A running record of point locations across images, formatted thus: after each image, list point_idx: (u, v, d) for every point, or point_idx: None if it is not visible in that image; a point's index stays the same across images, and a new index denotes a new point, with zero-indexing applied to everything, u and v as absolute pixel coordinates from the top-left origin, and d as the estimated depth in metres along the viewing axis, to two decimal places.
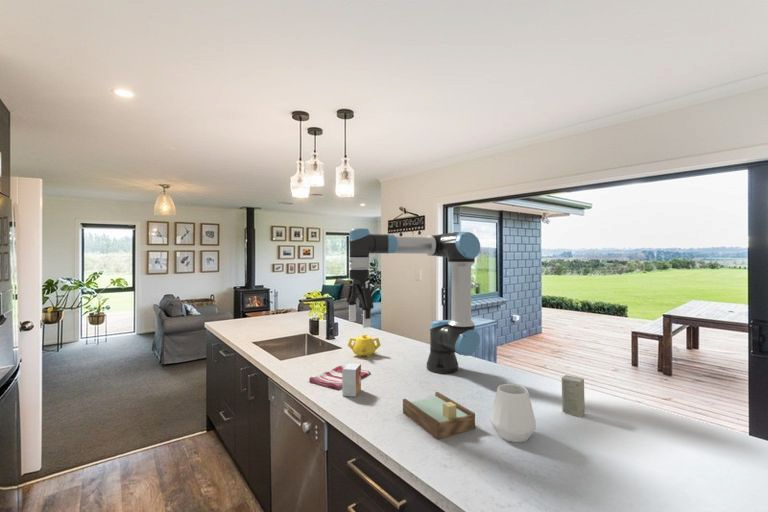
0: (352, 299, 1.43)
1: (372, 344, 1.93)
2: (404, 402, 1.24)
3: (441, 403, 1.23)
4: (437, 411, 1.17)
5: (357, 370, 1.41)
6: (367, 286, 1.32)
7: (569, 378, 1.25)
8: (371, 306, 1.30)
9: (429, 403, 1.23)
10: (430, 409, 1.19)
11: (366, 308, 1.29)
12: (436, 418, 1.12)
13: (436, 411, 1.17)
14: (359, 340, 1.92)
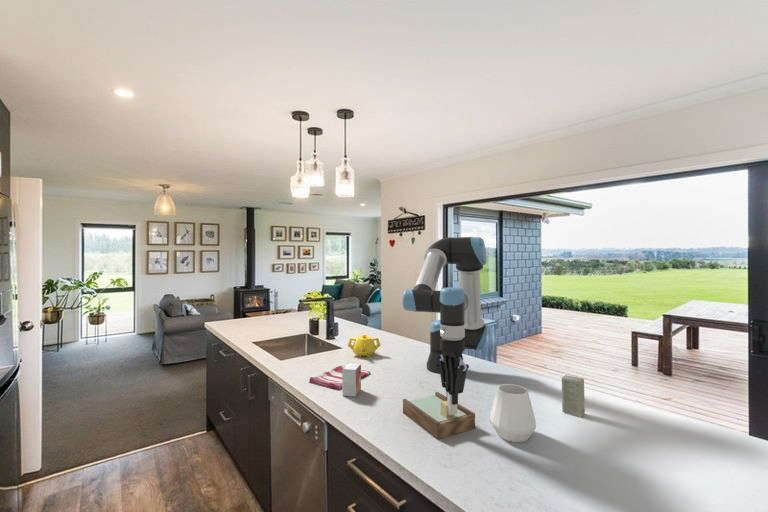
0: (449, 381, 1.13)
1: (372, 344, 1.93)
2: (404, 402, 1.24)
3: (439, 402, 1.24)
4: (435, 410, 1.18)
5: (357, 370, 1.41)
6: (465, 370, 1.07)
7: (569, 378, 1.25)
8: (460, 390, 1.09)
9: (427, 402, 1.24)
10: (428, 408, 1.20)
11: (454, 392, 1.10)
12: (434, 417, 1.13)
13: (434, 410, 1.18)
14: (359, 340, 1.92)
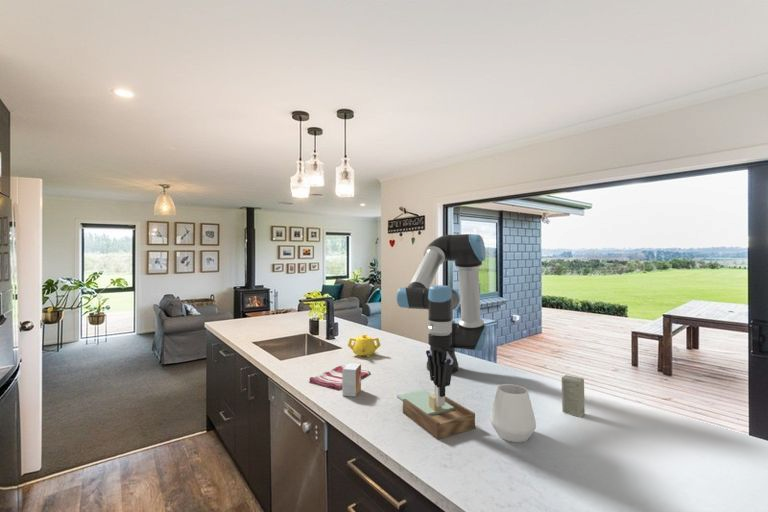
0: (437, 374, 1.18)
1: (372, 344, 1.93)
2: (404, 402, 1.24)
3: (428, 396, 1.30)
4: (424, 403, 1.24)
5: (357, 370, 1.41)
6: (451, 363, 1.13)
7: (569, 378, 1.25)
8: (447, 383, 1.15)
9: (417, 396, 1.30)
10: (417, 401, 1.25)
11: (441, 384, 1.15)
12: (422, 409, 1.19)
13: (423, 403, 1.24)
14: (359, 340, 1.92)
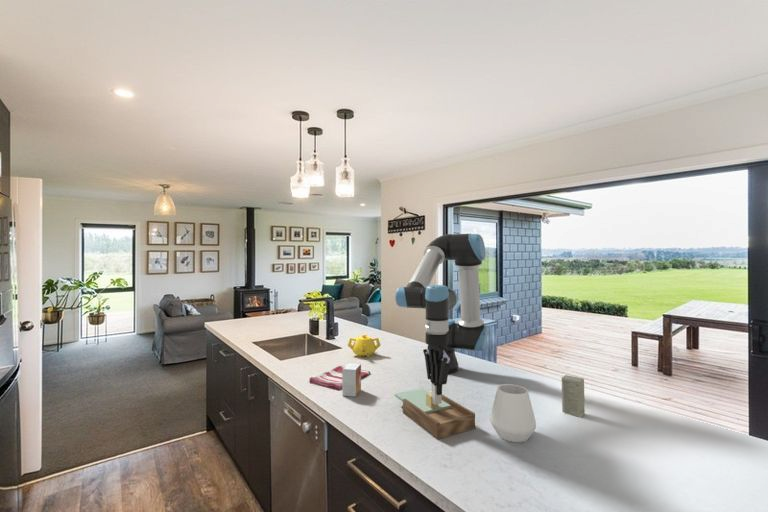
0: (434, 373, 1.20)
1: (372, 344, 1.93)
2: (404, 402, 1.24)
3: (425, 394, 1.31)
4: (421, 401, 1.25)
5: (357, 370, 1.41)
6: (448, 362, 1.14)
7: (569, 378, 1.25)
8: (444, 382, 1.16)
9: (414, 394, 1.31)
10: (415, 399, 1.27)
11: (438, 383, 1.17)
12: (419, 407, 1.20)
13: (420, 401, 1.25)
14: (359, 340, 1.92)
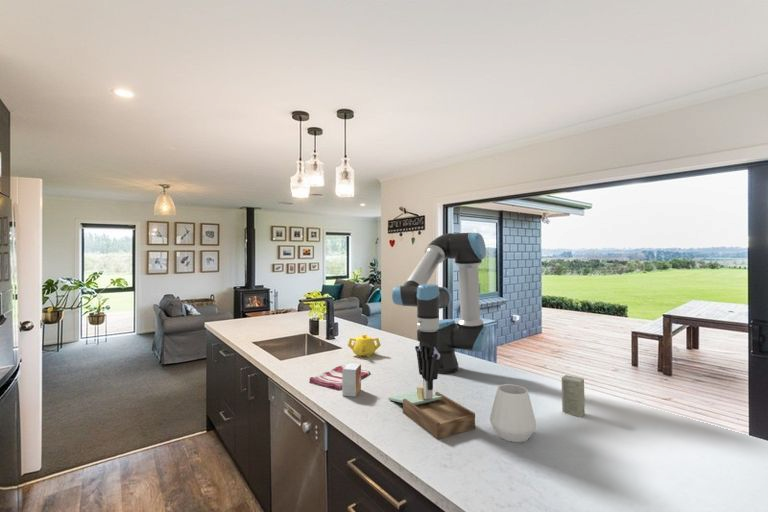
0: (425, 368, 1.24)
1: (372, 344, 1.93)
2: (404, 402, 1.24)
3: None
4: (413, 398, 1.30)
5: (357, 370, 1.41)
6: (438, 358, 1.19)
7: (569, 378, 1.25)
8: (435, 377, 1.21)
9: (408, 395, 1.35)
10: (408, 397, 1.31)
11: (429, 378, 1.21)
12: (412, 400, 1.25)
13: (413, 398, 1.30)
14: (359, 340, 1.92)
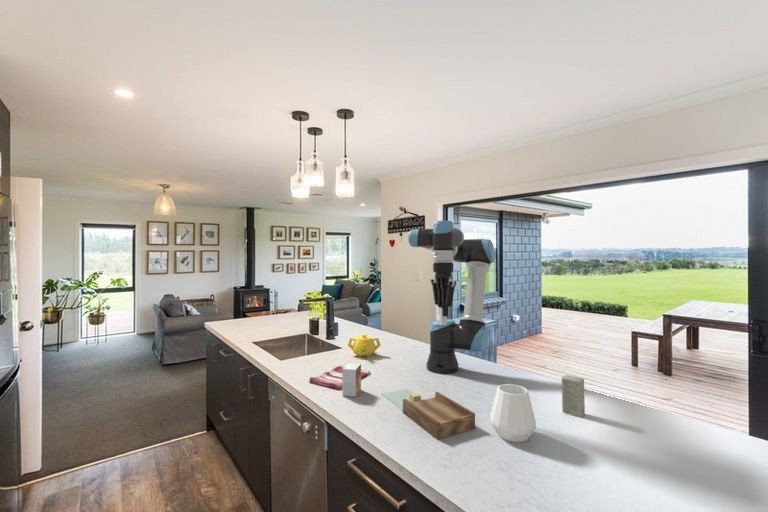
0: (440, 298, 1.36)
1: (372, 344, 1.93)
2: (404, 402, 1.24)
3: None
4: None
5: (357, 370, 1.41)
6: (453, 285, 1.31)
7: (569, 378, 1.25)
8: (450, 304, 1.33)
9: (400, 394, 1.40)
10: (399, 399, 1.36)
11: (444, 305, 1.33)
12: None
13: None
14: (359, 340, 1.92)
